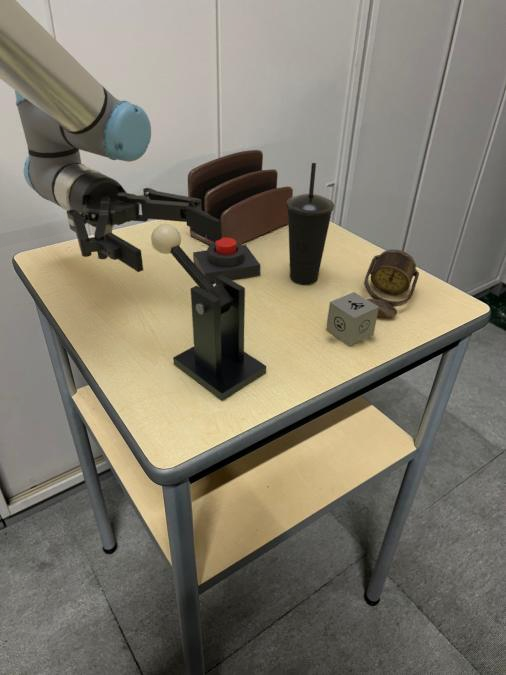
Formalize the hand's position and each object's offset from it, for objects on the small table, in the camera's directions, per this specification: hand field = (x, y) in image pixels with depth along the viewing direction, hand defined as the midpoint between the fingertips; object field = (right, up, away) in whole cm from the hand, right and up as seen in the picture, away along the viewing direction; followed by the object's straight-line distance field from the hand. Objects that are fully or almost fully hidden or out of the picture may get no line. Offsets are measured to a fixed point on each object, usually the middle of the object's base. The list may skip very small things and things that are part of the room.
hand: (181, 245), depth 65 cm
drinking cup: (+18, -1, +25) cm, 31 cm away
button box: (+4, 0, +27) cm, 27 cm away
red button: (+4, +3, +25) cm, 25 cm away
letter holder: (+7, +10, +41) cm, 42 cm away
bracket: (+4, -16, +5) cm, 17 cm away
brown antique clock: (+31, -5, +21) cm, 37 cm away
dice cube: (+24, -11, +12) cm, 29 cm away
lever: (+1, -4, +1) cm, 4 cm away
